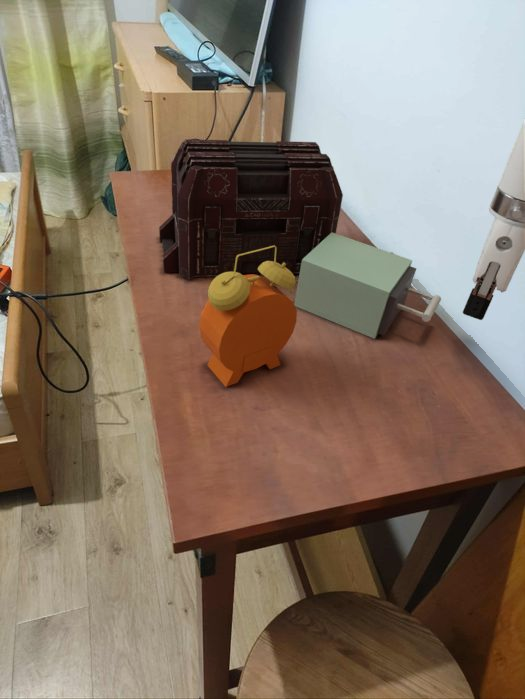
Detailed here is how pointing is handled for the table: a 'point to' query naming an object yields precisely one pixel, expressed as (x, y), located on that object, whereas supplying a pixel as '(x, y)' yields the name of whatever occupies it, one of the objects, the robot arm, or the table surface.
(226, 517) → the table surface
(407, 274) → the drawer
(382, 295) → the cabinet
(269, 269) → the alarm clock
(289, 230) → the crate
